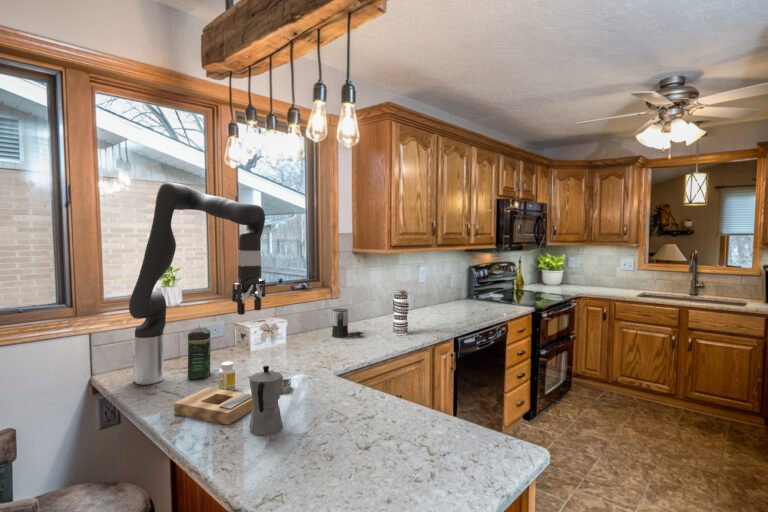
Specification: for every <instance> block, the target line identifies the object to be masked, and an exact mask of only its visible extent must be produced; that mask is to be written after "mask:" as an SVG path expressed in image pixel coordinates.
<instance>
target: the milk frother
mask: <svg viewBox="0 0 768 512" xmlns="http://www.w3.org/2000/svg"><path fill="white" fill-rule="evenodd" d="M331 311H332V321H331V322H332V327H331V328H332V329H331V330H332V331H331V336H332V337H333V338H346V336H347V337H349V336H356V337H361V335H363V334H364V333H363V332H361V331H355V332H350V333H349V327H348V326H349V325H348V324H349V309H348V308H333V309H331Z"/></svg>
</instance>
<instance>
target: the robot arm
mask: <svg viewBox="0 0 768 512" xmlns="http://www.w3.org/2000/svg"><path fill="white" fill-rule="evenodd" d="M175 210H177V211H184V210H186V211H187V210H189V211H194V210H195V211H200V212H204V213H206V214H208V215H209V216H213V217H215V218H219V219H222V220H227V221H230V222H232V223H234V224H237V225H241V226H246V228H245V231H244V232H242V233H240V234H239V235H238V254H237V278H238V279H239V282H236V283H235V282H233V284H232V297H231V298H232V299H231V300H232V302H233V303H236V304H237V314H238V315H239V316H240V315H242V316H243V315H245V313H246V312H245V311H246V309H245V308H246V303H245V301H246V300H247V298H249V296H251V295H252V297H253V298H254V300H253V301H254V302H253V303H254V304H253V305H254V306H253V307H254V308H253V309H254V311H261V310H262V299H263V298H265V297H266V280H265V279H261V278H262V251H261V250H262V248H261V247H262V246H261V239H262V235H263V232H264V226H265V223H266V214H265V210H264V209H263V208H262V206H260V205H258V204H257V205H256V204H250V203H244V202H240V201H239V202H238V201H236V200H234V199H230V198H227V197H222V196H217V195H211V194H208V193H207V194H206V193H203V192H202V191H198V190H196V189H194V188H193V187H191V186H188V185H186V184H183V183H176V182H175V183H174V182H169V181H167V182H164V183H162V184H161V185H160V187H159V188H158V190H157V193H156V199H155V205H154V213H153V218H152V223H151V229H150V233H149V236H148V241H147V243H146V247H145V250H144V256H143V259H142V264H141V266H140V267H141V268H140V271H139V275H138V276H137V277H138V278H137V280H136V283H135V286H134V288H133V291H132V293H131V295H130V299H129V303H128V311H129V314H130V315H131V317H132V318H133V319H136V320H140V319H142V320H143V319H144V321H143V322H142V323H141V324H140V325H139V326H137V327H136V328H135V330H134V356H133V357H132V360H133V361H132V362H133V363H132V365H133V369H132V370H133V374H132V375H133V382H135V384H137V385H152V384H156V383H159V382H162V381H163V380H164V377H165V375H164V374H165V372H164V370H165V369H164V367H165V366H164V365H165V363H164V329H165V326H166V323H167V322H166V319H167V318H166V317H167V301H166V298H165V296H164V294H163V293H162V292H160V291H154V288H155V287H156V284H157V282H158V281H159V280H160V279H161V278H162V277H163V275H164V274H165V273H167V271H168V269H169V268H170V266H171V265H172V263H173V260H174V257H175V254H176V248H177V243H176V242H177V241H176V239H175V235H174V232H173V229H172V220H173V215H174V212H175ZM261 291H262V292H261Z"/></svg>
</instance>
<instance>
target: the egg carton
mask: <svg viewBox="0 0 768 512" xmlns="http://www.w3.org/2000/svg"><path fill="white" fill-rule="evenodd" d="M291 381H292V377H288V378H283V380H282V386H281V393H280V394H284V395H285V394H287V393H290V390H291V386H292V385H291V384H292V382H291Z"/></svg>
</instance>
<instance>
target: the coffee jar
mask: <svg viewBox="0 0 768 512" xmlns="http://www.w3.org/2000/svg"><path fill="white" fill-rule="evenodd" d="M210 374H211V330H210V329H209V328H207V327H195V328H194V329H191V331H189V332H188V333H187V378H188V379H192V380H200V379H203V378H208V376H209V375H210Z"/></svg>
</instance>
